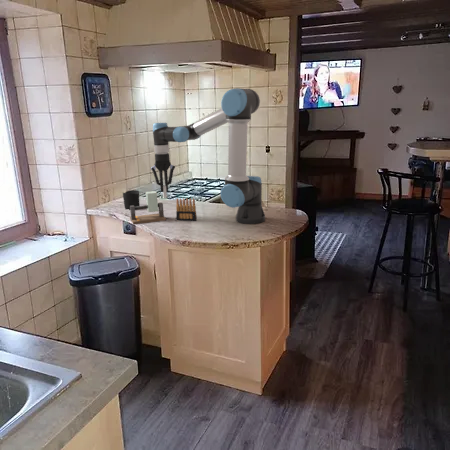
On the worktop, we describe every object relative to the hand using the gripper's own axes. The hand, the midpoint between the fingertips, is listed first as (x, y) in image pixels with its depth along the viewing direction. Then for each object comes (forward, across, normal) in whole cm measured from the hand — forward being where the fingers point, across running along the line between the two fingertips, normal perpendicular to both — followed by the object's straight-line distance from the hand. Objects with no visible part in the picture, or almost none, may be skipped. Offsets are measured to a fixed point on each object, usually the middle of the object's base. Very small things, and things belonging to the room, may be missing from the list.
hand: (164, 197), depth 231 cm
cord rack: (+11, +10, 0) cm, 15 cm away
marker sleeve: (+7, +7, 0) cm, 10 cm away
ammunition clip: (+11, -8, +11) cm, 18 cm away
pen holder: (+11, +14, -31) cm, 36 cm away
